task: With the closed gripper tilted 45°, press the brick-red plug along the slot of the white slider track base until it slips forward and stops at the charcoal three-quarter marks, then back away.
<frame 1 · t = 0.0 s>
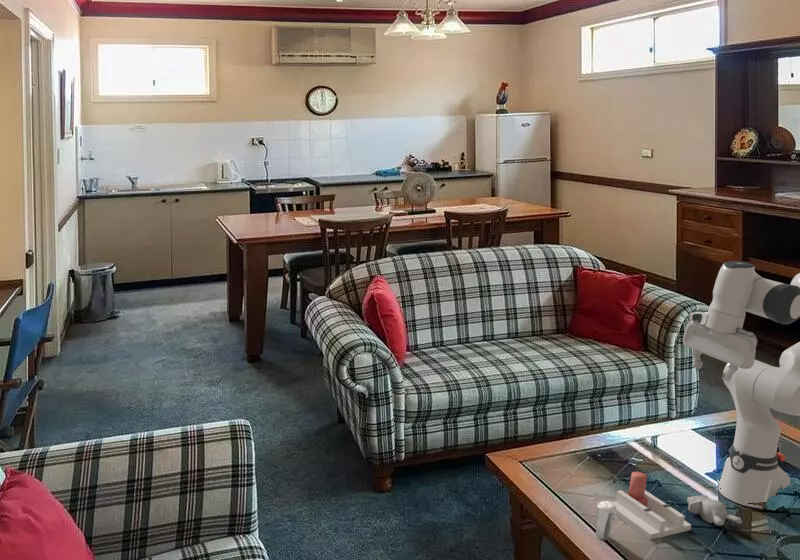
hand: (711, 373, 195), 39 cm above the table, tool pointing down, fingers open, 8 cm apart
red plug: (637, 489, 199), point 6 cm above the table, slide at 0.0 cm
white slider track base: (647, 518, 196), on the table
bunny figurine: (709, 519, 199), on the table
milkshake: (600, 536, 186), on the table
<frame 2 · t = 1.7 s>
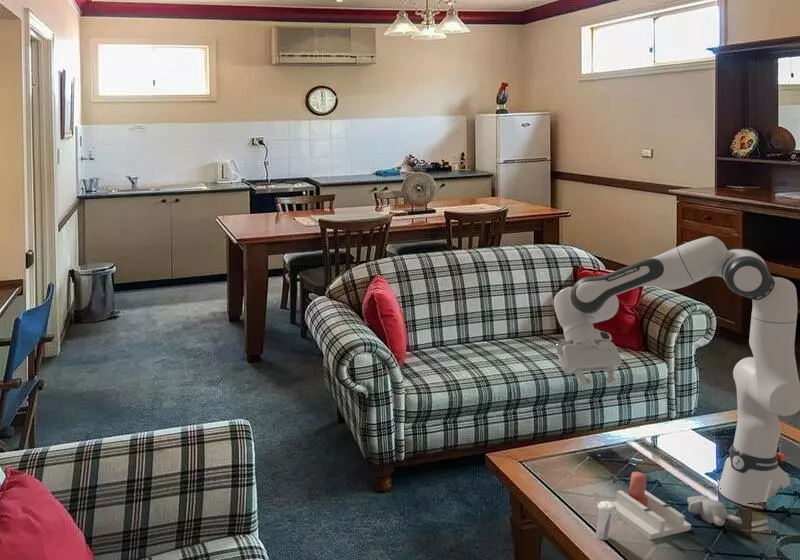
hand: (599, 384, 211), 29 cm above the table, tool tilted 45°, fingers open, 8 cm apart
nothing on the table moved.
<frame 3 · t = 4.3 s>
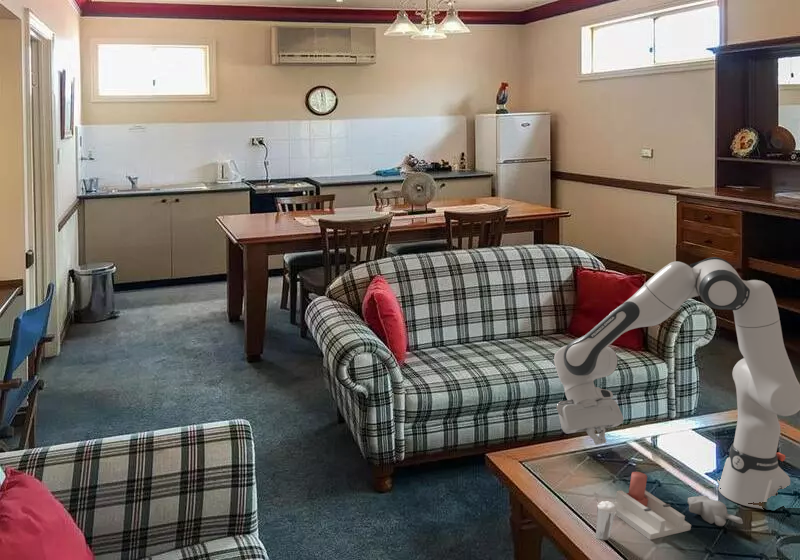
hand: (601, 443, 211), 12 cm above the table, tool tilted 45°, fingers closed
nothing on the table moved.
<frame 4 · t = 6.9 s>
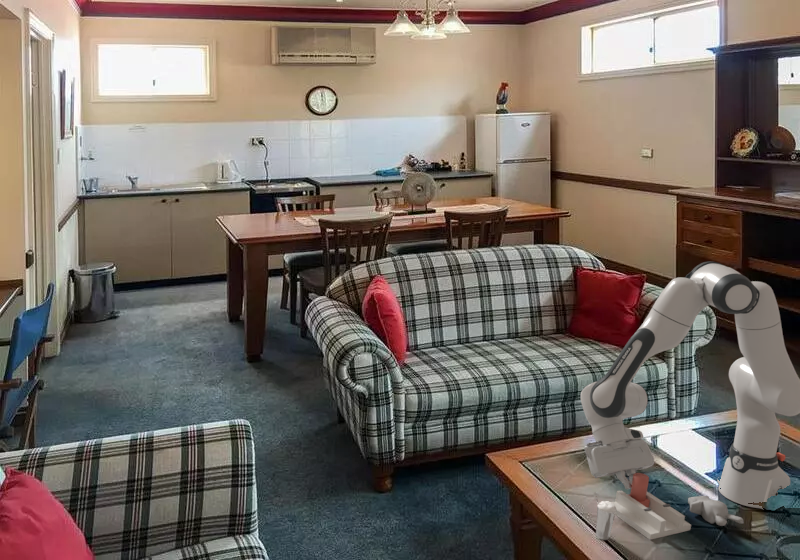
hand: (631, 488, 201), 5 cm above the table, tool tilted 45°, fingers closed, pressing on red plug
red plug: (638, 490, 199), point 6 cm above the table, slide at 0.7 cm, touching gripper
everything else where it was.
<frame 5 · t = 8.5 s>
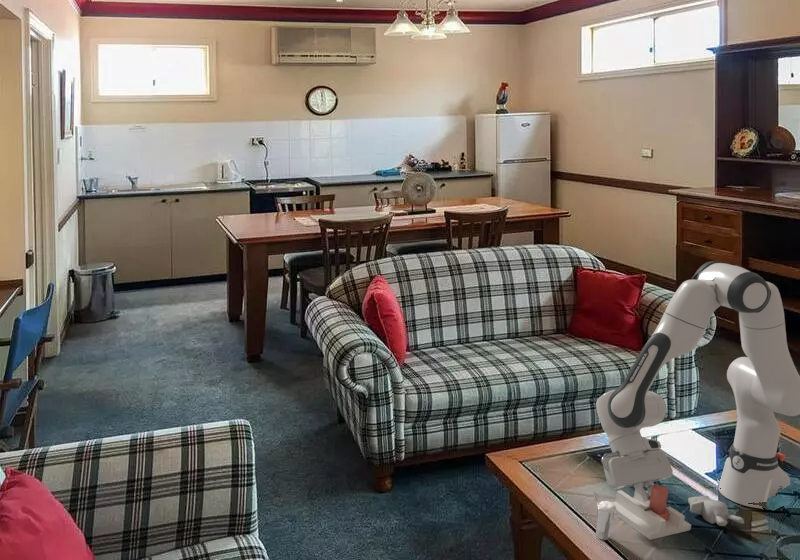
hand: (650, 500, 195), 5 cm above the table, tool tilted 45°, fingers closed, pressing on red plug
red plug: (657, 503, 193), point 6 cm above the table, slide at 7.5 cm, touching gripper
everything else where it was.
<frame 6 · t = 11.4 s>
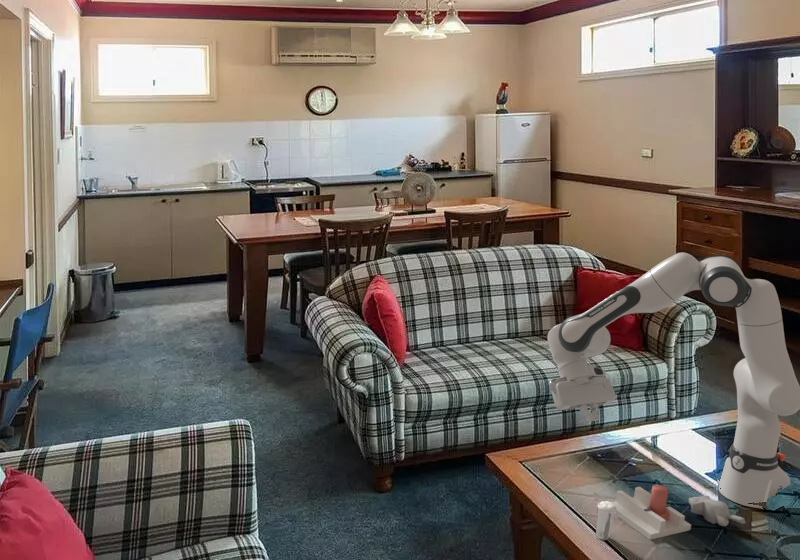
hand: (593, 420, 214), 17 cm above the table, tool tilted 45°, fingers closed
red plug: (657, 503, 193), point 6 cm above the table, slide at 7.5 cm
everything else where it was.
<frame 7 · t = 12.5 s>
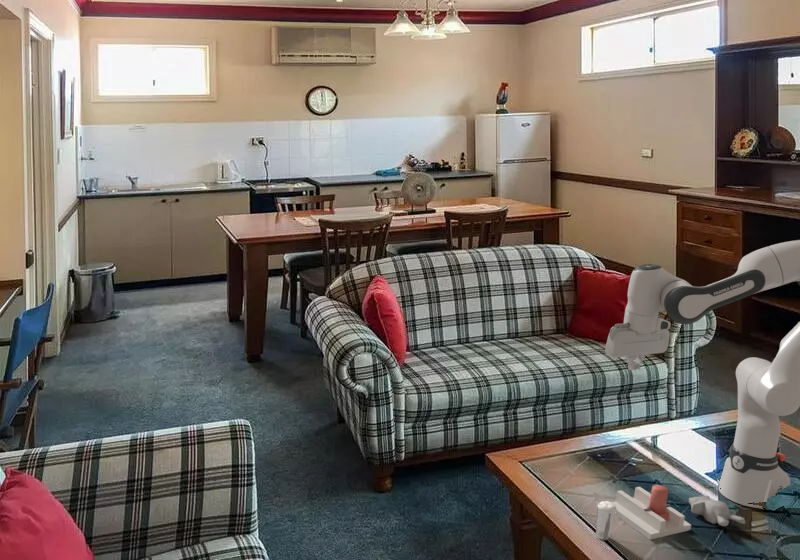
hand: (633, 369, 210), 34 cm above the table, tool pointing down, fingers closed
nothing on the table moved.
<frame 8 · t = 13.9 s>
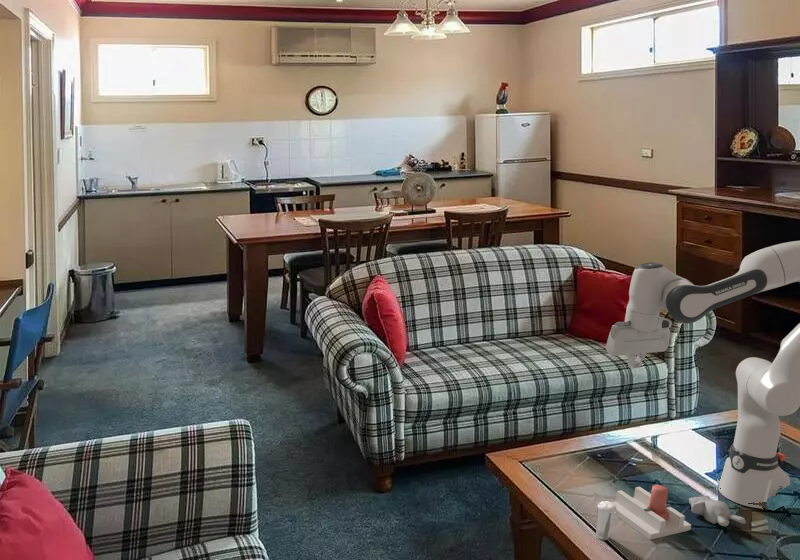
hand: (634, 367, 210), 34 cm above the table, tool pointing down, fingers closed
nothing on the table moved.
at the end: red plug slide at 7.5 cm; milkshake moved 0.2 cm from its start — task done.
